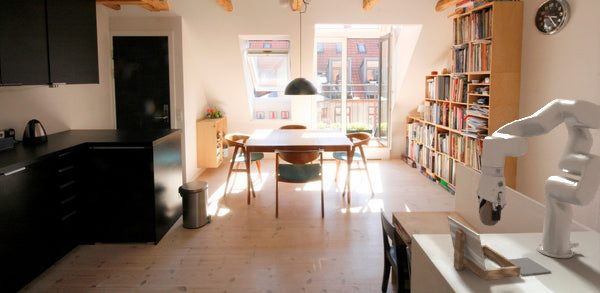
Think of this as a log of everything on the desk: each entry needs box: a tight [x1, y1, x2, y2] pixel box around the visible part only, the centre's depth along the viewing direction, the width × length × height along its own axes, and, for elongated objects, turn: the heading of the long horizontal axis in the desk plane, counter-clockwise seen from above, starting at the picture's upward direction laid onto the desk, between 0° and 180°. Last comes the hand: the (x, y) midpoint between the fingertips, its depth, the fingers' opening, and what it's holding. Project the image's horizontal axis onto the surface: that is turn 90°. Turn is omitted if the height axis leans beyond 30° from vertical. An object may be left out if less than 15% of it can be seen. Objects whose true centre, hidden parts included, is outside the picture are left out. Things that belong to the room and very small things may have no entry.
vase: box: [478, 201, 499, 227], centre depth 156 cm, size 7×7×9 cm
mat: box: [508, 257, 552, 277], centre depth 158 cm, size 12×12×1 cm
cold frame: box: [446, 215, 521, 281], centre depth 158 cm, size 19×20×17 cm
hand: (489, 216), depth 156 cm, fingers closed on vase, 6 cm apart
